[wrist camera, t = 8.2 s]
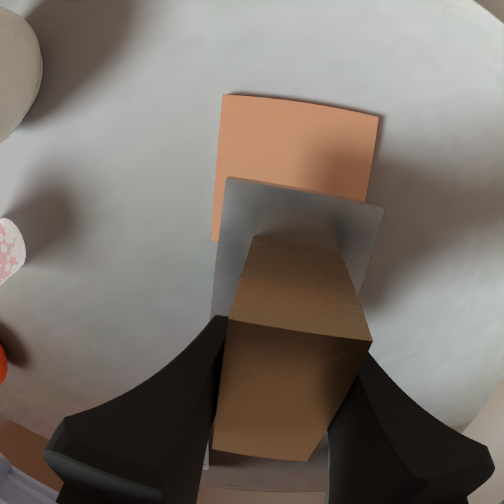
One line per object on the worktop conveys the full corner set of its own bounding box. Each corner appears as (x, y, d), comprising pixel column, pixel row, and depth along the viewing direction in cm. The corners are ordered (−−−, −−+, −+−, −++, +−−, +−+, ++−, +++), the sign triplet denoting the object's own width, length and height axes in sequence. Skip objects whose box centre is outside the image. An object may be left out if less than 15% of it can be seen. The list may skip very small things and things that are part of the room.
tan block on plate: (318, 386, 15) (322, 482, 10) (207, 368, 15) (178, 462, 10) (380, 205, 11) (450, 274, 6) (229, 175, 11) (175, 223, 6)
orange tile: (352, 259, 17) (378, 117, 14) (211, 240, 17) (222, 94, 14) (348, 251, 18) (372, 117, 15) (215, 234, 18) (226, 96, 15)
